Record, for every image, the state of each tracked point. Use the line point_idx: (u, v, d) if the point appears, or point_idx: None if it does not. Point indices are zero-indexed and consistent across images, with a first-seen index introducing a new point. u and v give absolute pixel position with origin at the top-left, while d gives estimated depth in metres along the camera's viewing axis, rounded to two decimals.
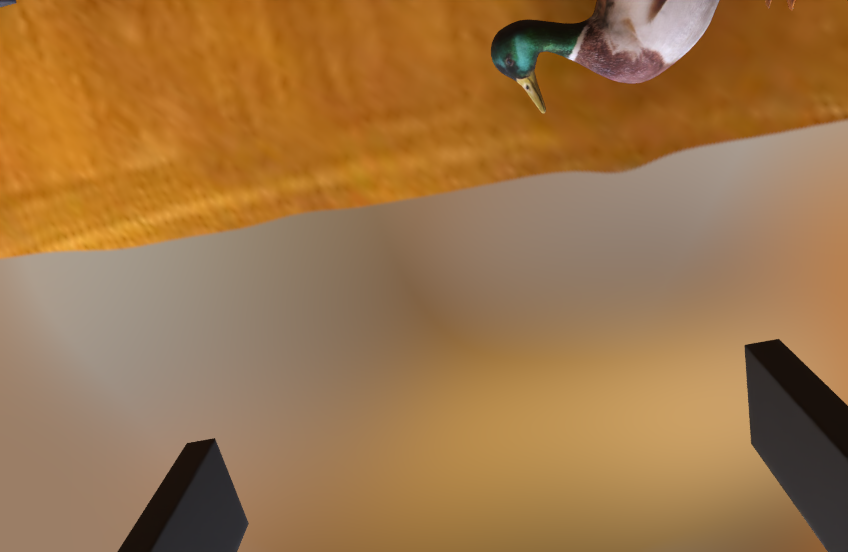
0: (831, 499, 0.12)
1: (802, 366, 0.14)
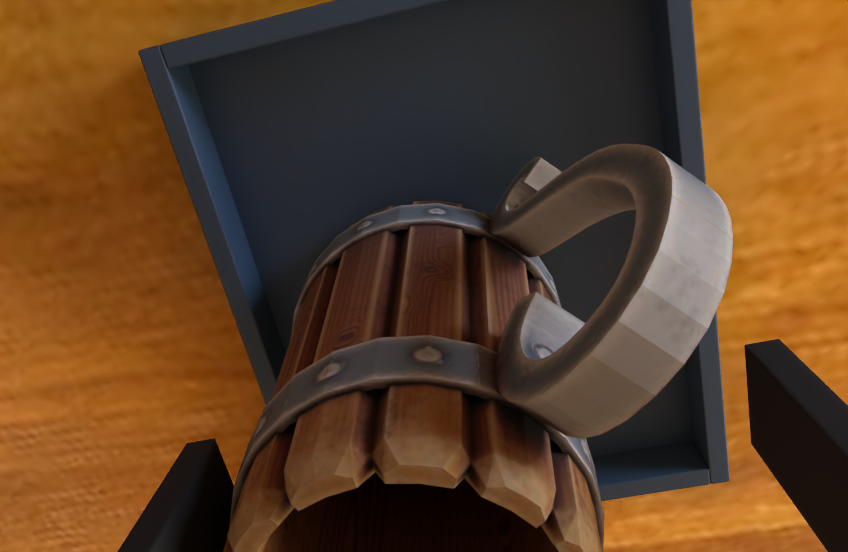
0: (831, 499, 0.12)
1: (802, 366, 0.14)
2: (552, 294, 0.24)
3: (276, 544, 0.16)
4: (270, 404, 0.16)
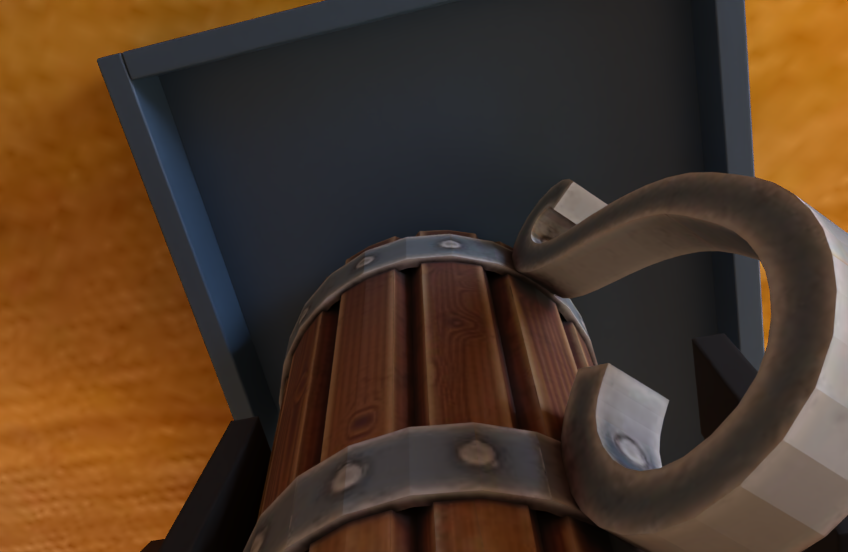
0: None
1: (741, 358, 0.15)
2: (586, 338, 0.20)
3: None
4: (267, 515, 0.13)
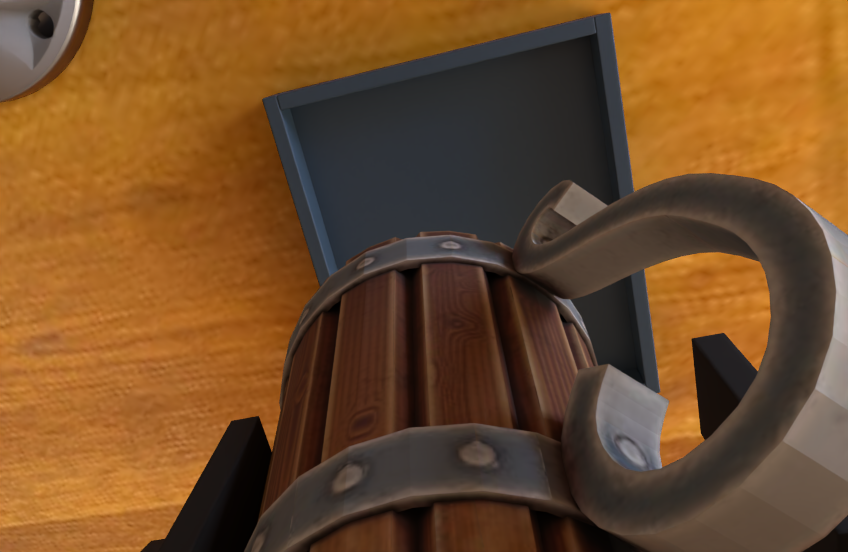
0: None
1: (741, 358, 0.15)
2: (586, 339, 0.20)
3: None
4: (268, 515, 0.13)
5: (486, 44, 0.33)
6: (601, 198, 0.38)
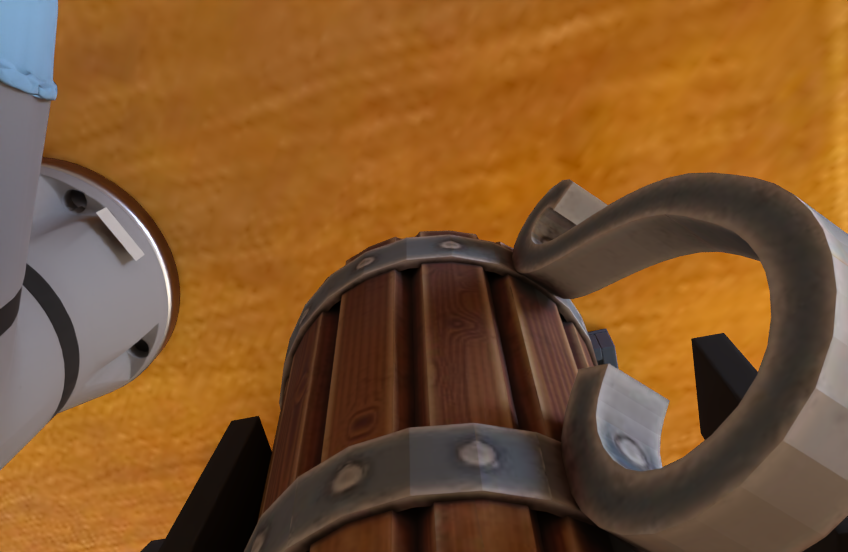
0: None
1: (741, 358, 0.15)
2: (586, 339, 0.20)
3: None
4: (268, 515, 0.13)
5: None
6: None
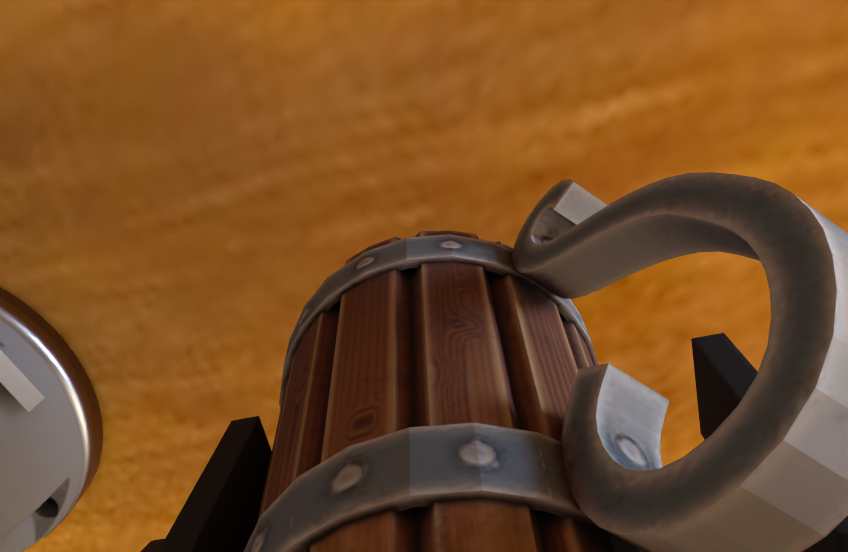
0: None
1: (741, 358, 0.15)
2: (586, 338, 0.20)
3: None
4: (268, 515, 0.13)
5: None
6: None
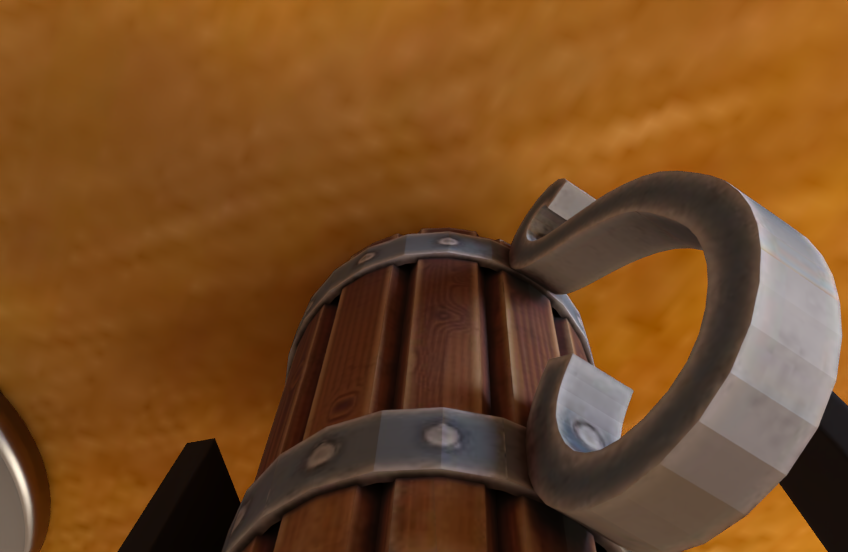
0: (831, 498, 0.12)
1: None
2: (580, 334, 0.21)
3: None
4: (252, 489, 0.14)
5: None
6: None
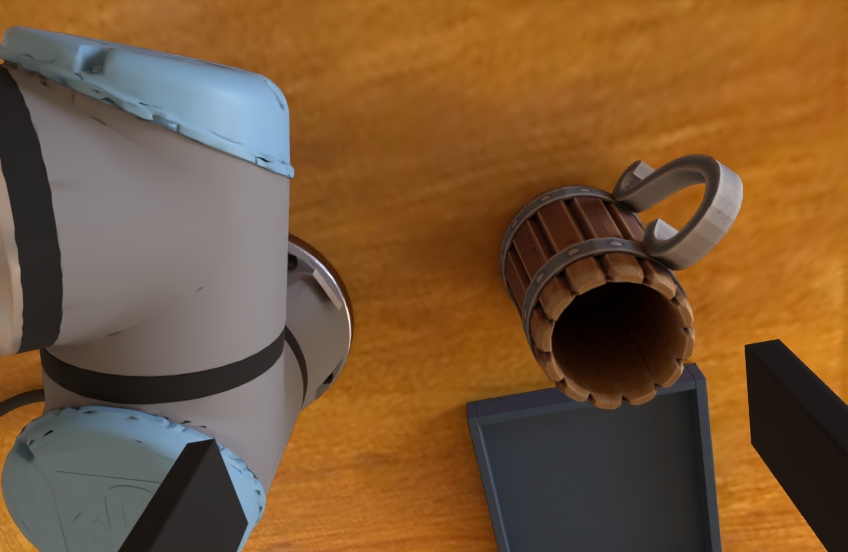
0: (831, 498, 0.12)
1: (802, 366, 0.14)
2: None
3: None
4: (541, 269, 0.37)
5: None
6: (689, 470, 0.55)
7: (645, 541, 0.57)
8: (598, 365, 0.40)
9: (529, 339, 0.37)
